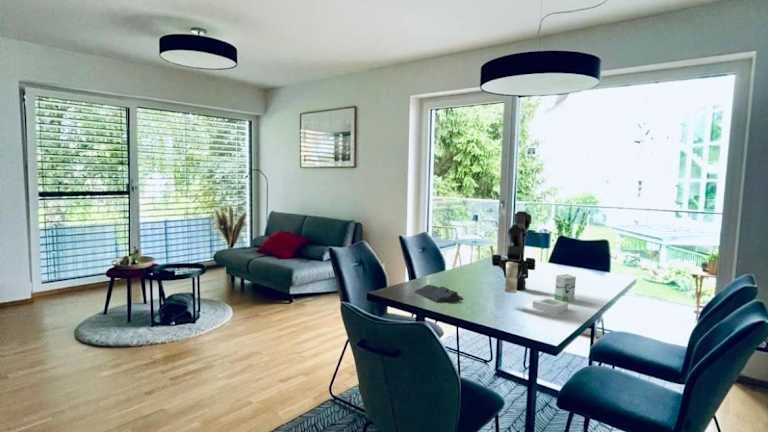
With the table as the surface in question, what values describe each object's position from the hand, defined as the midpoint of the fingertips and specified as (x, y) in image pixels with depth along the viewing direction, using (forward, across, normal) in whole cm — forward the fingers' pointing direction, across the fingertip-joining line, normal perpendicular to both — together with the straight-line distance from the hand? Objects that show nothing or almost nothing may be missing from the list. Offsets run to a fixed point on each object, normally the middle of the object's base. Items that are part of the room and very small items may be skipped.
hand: (511, 277), depth 189 cm
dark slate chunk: (+9, -33, +11) cm, 36 cm away
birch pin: (+4, 0, +6) cm, 7 cm away
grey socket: (+5, +17, +14) cm, 23 cm away
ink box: (-8, +23, +28) cm, 37 cm away
